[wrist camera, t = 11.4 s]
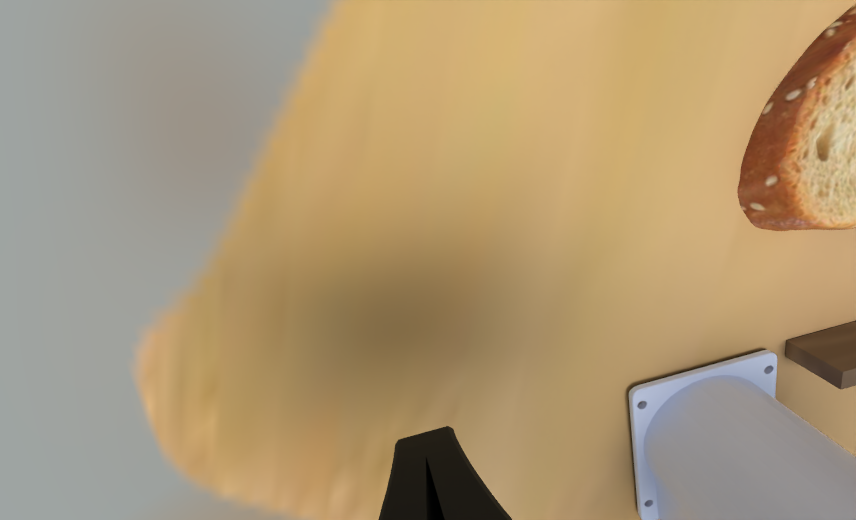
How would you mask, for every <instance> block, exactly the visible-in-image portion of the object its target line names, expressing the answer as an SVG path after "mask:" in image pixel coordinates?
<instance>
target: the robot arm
mask: <svg viewBox="0 0 856 520" xmlns="http://www.w3.org/2000/svg"><path fill="white" fill-rule="evenodd" d="M776 374H777V355H776V354H775V353H773V352H771V351H769V350H763V351H759V352H756V353H752V354H748V355H745V356H741V357H738V358H734V359H730V360H727V361H723V362H720V363H716V364H712V365H709V366H705V367H702V368H698V369H694V370H691V371H687V372H684V373H680V374H676V375H673V376H669V377H666V378H662V379H658V380H655V381H651V382H648V383H644V384H640V385H637V386H635V387H633V388H632V389H631V390H630V392H629V406H630V418H631V431H632V443H633V456H634V468H635V481H636V493H637V506H638V514H639V516H640V518H641V519H642V520H657V519H660V520H856V457H855V456H854V455H852V454H851V453H850V452H848V451H847V450H845V449H844V448H843V447H841V446H840V445H839V444H837V443H836V442H834V441H833V440H832V439H830V438H829V437H827V436H826V435H825V434H823V433H822V432H821V431H819V430H818V429H816V428H815V427H814V426H812V425H811V424H809V423H808V422H807V421H805V420H804V419H802V418H801V417H800V416H798V415H797V414H796V413H794V412H793V411H791V410H790V409H789V408H787V407H786V406H784V405H783V404H782V403H780V402H779V401H778V400H776V399H775V390H776ZM641 401H642V402H641ZM639 402H641V403H640V404H638V403H639ZM379 520H512V519H511V517H510V516H509V515H508V514H507V513H506V511H505V510H504V509H503V508H502V507H501V505H500V504H499V503H498V501H497V500H496V499H495V498H494V496H493V495H492V494H491V492H490V491H489V489H488V488H487V487H486V485H485V484H484V482H483V481H482V480H481V478H480V477H479V476H478V474H477V473H476V471H475V470H474V468H473V467H472V465H471V463H470V462H469V460H468V458H467V457H466V455H465V453H464V452H463V450H462V448H461V446H460V444H459V442H458V440H457V438H456V436H455V433H454V430H453V429H452V428H450V427H449V426H446V427H443V428H439V429H436V430H432V431H428V432H425V433H421V434H417V435H414V436H410V437H407V438H403V439H399V440H398V441H397V443H396V444H395V452H394V458H393V464H392V469H391V474H390V478H389V483H388V487H387V491H386V495H385V498H384V502H383V505H382V509H381V513H380V516H379Z"/></svg>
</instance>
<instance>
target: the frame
mask: <svg viewBox="0 0 856 520" xmlns="http://www.w3.org/2000/svg"><path fill="white" fill-rule="evenodd" d="M786 357H788V358H789V359H791V360H793V361H794V362H796V363H798V364H799V365H801V366H803V367H804V368H806V369H808V370H809V371H811V372H813V373H814V374H816V375H818V376H819V377H821V378H823V379H824V380H826V381H828V382H829V383H831V384H832V385H834V386H836V387H837V388H839V389H844V388H848V387H851V386H855V385H856V321H855V322H851V323H847V324H844V325H840V326H837V327H833V328H829V329H826V330H822V331H819V332H815V333H811V334H808V335H804V336H801V337H797V338H793V339H790V340H787V342H786Z"/></svg>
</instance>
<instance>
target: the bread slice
mask: <svg viewBox="0 0 856 520" xmlns="http://www.w3.org/2000/svg"><path fill="white" fill-rule="evenodd" d="M738 198H739V202H740V206H741V208H742V210H743V211H744V213H745V214H746V216H747V217H748V219H749V220H750V222H751V223H752V224H753V225H754V226H756V227H758V228H761V229H768V230H775V231H788V230H809V229H820V230H841V229H853V228H856V4H855V5H854V6H852V7H851V8H850V9H849V10H848V11H847V12H846V13H844V14H843V15H842V16H841V17H840V18H839V19H837V20H836V21H835V22H834V23H832V24H831V25H830V26H829V27H828V28H827V29H826V30H824V31H823V32H822V33H821V34H820V35H819V36H818V37H817V39H816V40H815V41H814V42H813V43H812V44H811V45H810V46H809V47H808V48H807V50H806V51H805V52H804V53H803V55H802V56H801V57H800V59H799V60H798V61H797V62H796V64H795V65H794V66H793V67H792V69H791V70H790V71H789V72H788V74H787V75H786V76H785V78H784V79H783V81H782V82H781V83H780V85H779V86H778V87H777V89H776V90H775V92H774V93H773V95H772V96H771V98H770V99H769V101H768V102H767V104H766V106H765V107H764V109H763V111H762V114H761V116H760V118H759V120H758V122H757V124H756V126H755V128H754V130H753V132H752V135H751V138H750V140H749V143H748V146H747V149H746V152H745V155H744V158H743V162H742V166H741V174H740V182H739V186H738Z"/></svg>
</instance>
